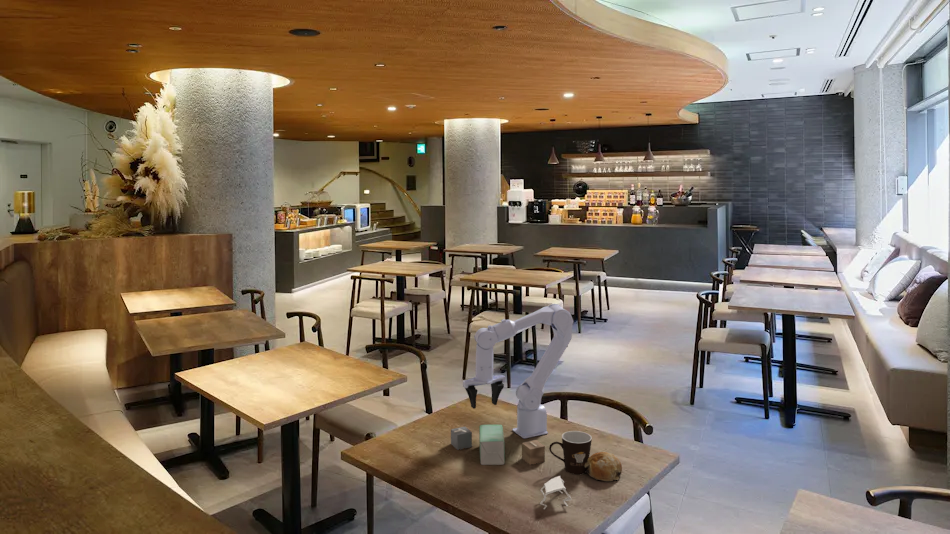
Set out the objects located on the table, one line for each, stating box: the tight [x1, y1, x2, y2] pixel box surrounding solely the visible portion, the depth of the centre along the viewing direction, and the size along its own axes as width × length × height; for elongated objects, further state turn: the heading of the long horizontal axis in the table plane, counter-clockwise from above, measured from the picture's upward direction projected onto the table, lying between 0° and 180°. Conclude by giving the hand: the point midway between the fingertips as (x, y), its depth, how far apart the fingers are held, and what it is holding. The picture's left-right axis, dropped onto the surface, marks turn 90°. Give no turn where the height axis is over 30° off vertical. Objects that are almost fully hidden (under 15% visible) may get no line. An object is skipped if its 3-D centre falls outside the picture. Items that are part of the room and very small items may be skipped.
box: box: [478, 424, 506, 466], centre depth 192 cm, size 7×14×8 cm, turn 1°
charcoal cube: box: [450, 426, 473, 451], centre depth 199 cm, size 5×5×5 cm
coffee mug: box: [548, 430, 593, 476], centre depth 182 cm, size 12×9×10 cm
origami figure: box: [539, 475, 572, 510], centre depth 165 cm, size 12×8×5 cm
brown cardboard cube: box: [521, 439, 546, 466], centre depth 188 cm, size 5×5×5 cm
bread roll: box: [585, 451, 623, 482], centre depth 179 cm, size 10×10×8 cm
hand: (483, 405), depth 205 cm, fingers open, 7 cm apart
